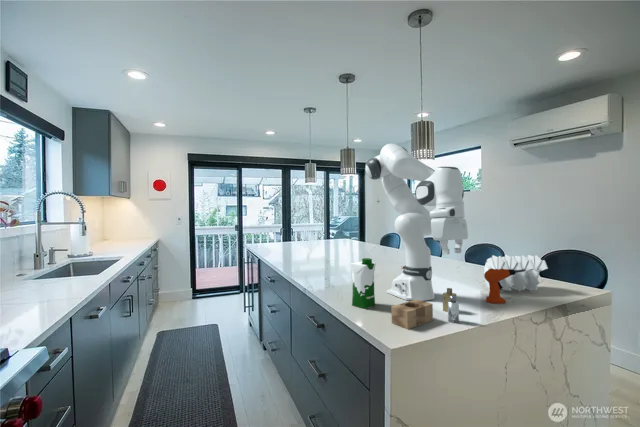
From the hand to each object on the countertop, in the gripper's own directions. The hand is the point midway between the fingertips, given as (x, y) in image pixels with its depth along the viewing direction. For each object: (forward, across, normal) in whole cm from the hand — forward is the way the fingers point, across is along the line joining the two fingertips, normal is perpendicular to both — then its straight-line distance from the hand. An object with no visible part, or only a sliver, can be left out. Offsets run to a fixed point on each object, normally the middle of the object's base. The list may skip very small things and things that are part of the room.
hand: (452, 253), depth 101 cm
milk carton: (+23, 0, -39) cm, 45 cm away
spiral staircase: (+22, -68, -2) cm, 72 cm away
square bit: (+24, -18, -10) cm, 31 cm away
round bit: (+25, -8, -4) cm, 26 cm away
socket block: (+25, +3, -14) cm, 29 cm away
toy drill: (+23, -46, +2) cm, 52 cm away
